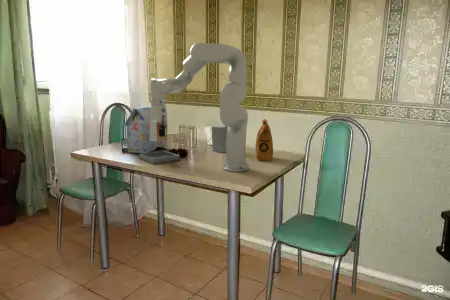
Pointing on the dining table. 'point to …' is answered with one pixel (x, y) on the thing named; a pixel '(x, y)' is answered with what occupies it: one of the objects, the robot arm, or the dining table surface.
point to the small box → (156, 131)
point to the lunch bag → (140, 131)
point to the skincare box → (219, 138)
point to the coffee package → (264, 143)
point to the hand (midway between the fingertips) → (158, 135)
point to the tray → (159, 157)
